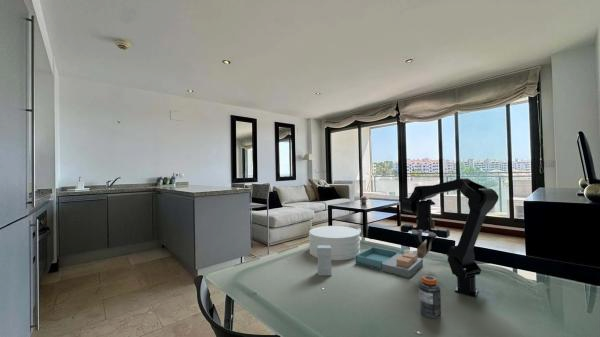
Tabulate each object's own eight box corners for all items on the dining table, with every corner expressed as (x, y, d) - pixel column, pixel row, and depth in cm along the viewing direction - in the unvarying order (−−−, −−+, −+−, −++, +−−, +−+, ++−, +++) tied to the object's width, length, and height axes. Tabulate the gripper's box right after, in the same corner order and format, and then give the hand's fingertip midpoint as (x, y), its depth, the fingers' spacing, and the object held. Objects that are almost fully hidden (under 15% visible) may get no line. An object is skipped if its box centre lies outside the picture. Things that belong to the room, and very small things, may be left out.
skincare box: (331, 271, 114) (330, 245, 114) (331, 275, 110) (331, 248, 110) (317, 271, 114) (317, 245, 115) (317, 275, 110) (317, 248, 110)
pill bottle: (434, 308, 83) (433, 273, 83) (445, 318, 77) (444, 281, 77) (416, 308, 83) (415, 274, 83) (425, 319, 77) (425, 281, 77)
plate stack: (301, 248, 149) (301, 229, 149) (341, 242, 161) (340, 224, 161) (325, 264, 124) (325, 240, 124) (371, 255, 136) (370, 233, 136)
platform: (409, 277, 106) (409, 270, 106) (382, 270, 114) (381, 263, 114) (422, 265, 120) (422, 258, 120) (397, 259, 128) (397, 253, 128)
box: (381, 270, 114) (381, 261, 114) (355, 263, 123) (355, 255, 123) (396, 259, 128) (396, 251, 128) (372, 254, 136) (372, 246, 136)
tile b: (413, 262, 115) (413, 257, 115) (402, 260, 118) (402, 255, 118) (417, 259, 118) (417, 254, 118) (406, 257, 122) (406, 252, 122)
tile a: (408, 267, 109) (408, 261, 109) (396, 264, 113) (396, 259, 113) (412, 264, 113) (412, 258, 113) (400, 261, 116) (400, 256, 116)
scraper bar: (422, 258, 104) (422, 248, 104) (417, 257, 105) (417, 247, 105) (431, 248, 116) (431, 239, 116) (426, 247, 117) (426, 239, 117)
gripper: (452, 213, 110) (453, 249, 110) (408, 210, 123) (409, 242, 123) (446, 217, 102) (447, 256, 102) (399, 213, 115) (400, 248, 114)
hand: (424, 250), depth 111 cm, fingers closed on scraper bar, 2 cm apart
